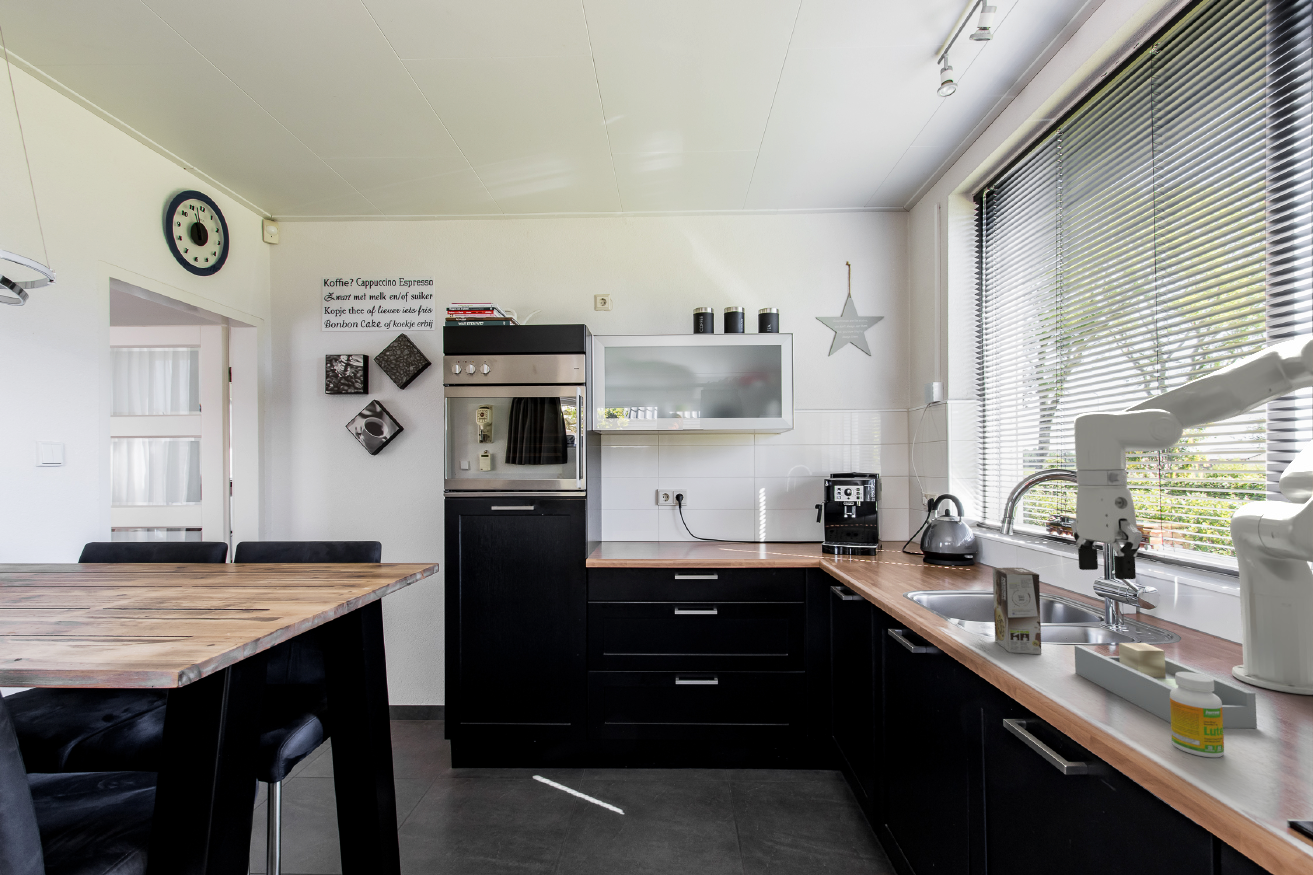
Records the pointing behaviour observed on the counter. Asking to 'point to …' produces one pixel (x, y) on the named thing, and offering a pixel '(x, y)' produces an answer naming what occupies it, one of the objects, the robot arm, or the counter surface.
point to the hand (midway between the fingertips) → (1106, 573)
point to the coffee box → (1017, 610)
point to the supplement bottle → (1196, 716)
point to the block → (1143, 658)
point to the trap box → (1162, 687)
